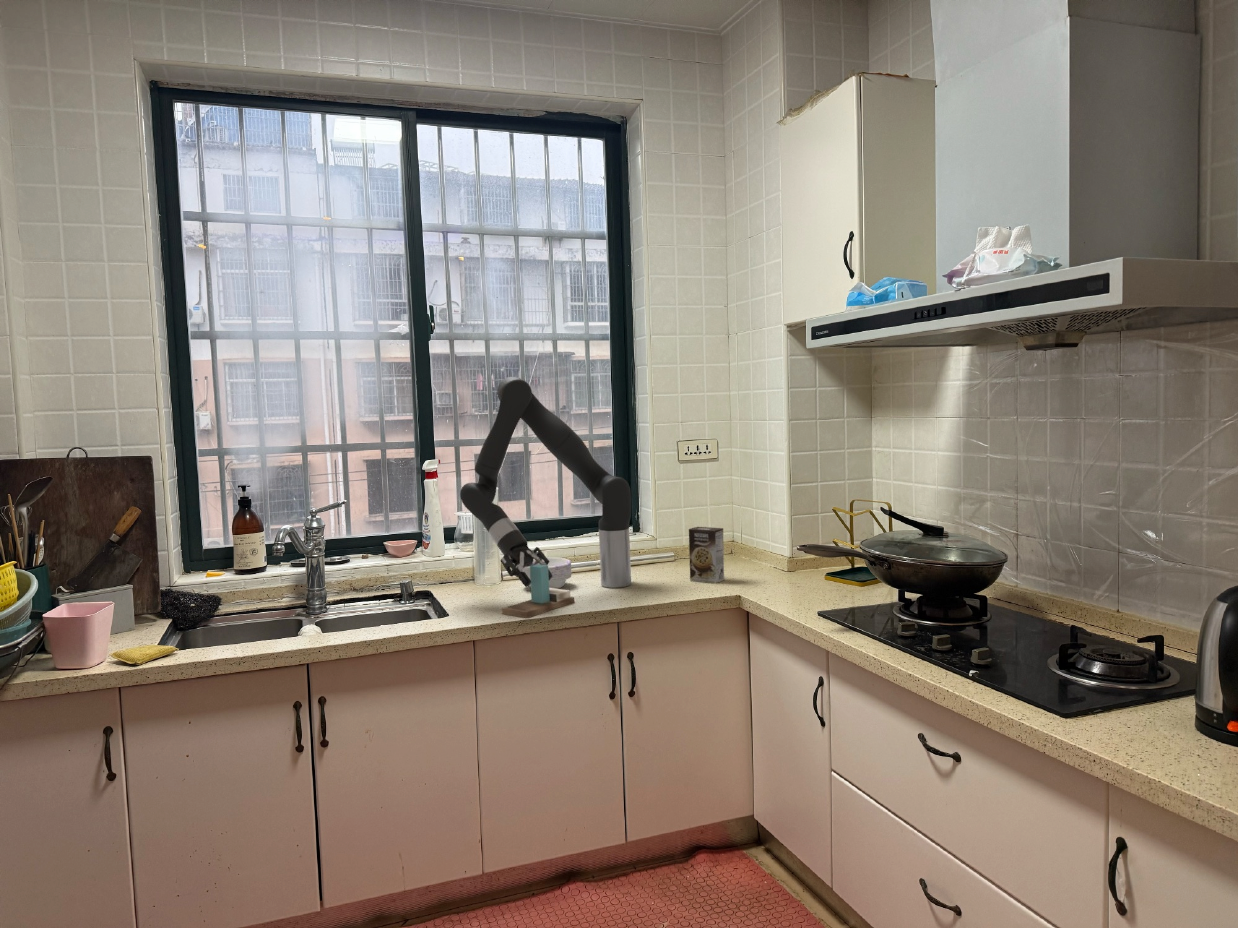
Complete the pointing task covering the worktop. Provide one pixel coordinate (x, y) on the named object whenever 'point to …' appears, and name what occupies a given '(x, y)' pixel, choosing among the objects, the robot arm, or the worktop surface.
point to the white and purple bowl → (555, 571)
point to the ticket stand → (532, 608)
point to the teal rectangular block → (539, 583)
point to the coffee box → (706, 554)
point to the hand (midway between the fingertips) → (539, 581)
